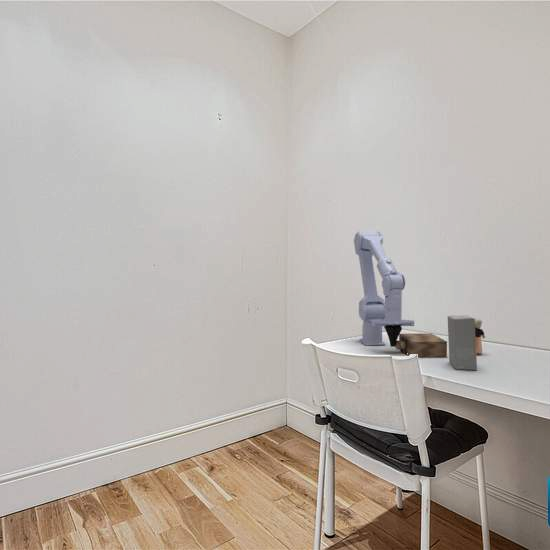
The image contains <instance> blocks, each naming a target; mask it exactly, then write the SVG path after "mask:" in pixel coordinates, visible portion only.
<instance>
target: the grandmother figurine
mask: <svg viewBox="0 0 550 550" xmlns="http://www.w3.org/2000/svg"><path fill="white" fill-rule="evenodd" d="M482 324H483V320H482V319H481V318H478V317H476V318H475V338H476V356H477V355H478V356H481V355H483V345H482V339H485V338H486V336H485V332H484V330H483V329H482V328H481V327H482Z"/></svg>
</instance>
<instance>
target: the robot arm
mask: <svg viewBox="0 0 550 550" xmlns="http://www.w3.org/2000/svg"><path fill="white" fill-rule="evenodd" d="M383 243H384V238H383V234H382V233H381V231H357V232H356V233H355V235H354V238H353V244H354V250H355V254H356V255H358V260H359V266H360V274H361V282H362V287H363V293H364V294H363V295H364V297H363V298H361V299H360V300H359V302H358V317H359V318H360V320H361V321H363V323H362V327H361V328H362V329H361V331H362V332H361V333H362V336H361V337H362V338H359V341H360V342H361V343H362V344H363V345H364V346H385V345H386V343H385V342H384V341H383V327H384V330H385V332H386V333H387V337H388V340H389V346H390V347H392V348H395V346H396V341H398V339H399V334H401V332H402V330H403V327H415V320H413V319H402V312H403V311H402V310H403V309H402V305H403V304H402V301H403V299H402V298H403V293H402V291H403V290H405V287H406V278H405V275H404V274H403V273H400V272H399V271H397V269H396V267H395V264H394V263H393V261H392V260H391V258H388V257H387V255H386V252H385V250H384V247H383ZM373 256H374V258H375V261H377V263H376V268H377V270H378V272H379V275H380V276H381V278H382V279H381V287H382V291H383V292H382V293H383V295H384V298H383V297H381V296H380V295H378V288H377V282H376V281H377V280H376V276H375V269H374V263H373Z"/></svg>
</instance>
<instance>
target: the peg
mask: <svg viewBox="0 0 550 550" xmlns="http://www.w3.org/2000/svg"><path fill="white" fill-rule="evenodd" d="M394 348H395V350H398V351H399V350H400V351H401V349H405V341H399V340H397V341H396V346H395V347H394Z"/></svg>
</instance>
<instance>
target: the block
mask: <svg viewBox="0 0 550 550" xmlns="http://www.w3.org/2000/svg"><path fill="white" fill-rule="evenodd" d="M398 341H405V349H400V351H401V350H402V351H404V352H405V353H408V354H409V355H410V354H418V357H419V359H421V358H424V359H425V358H448V341H446V340H444V339H443V338H441V337H440V336H437V335H436V334H433V333H423V332H422V333H421V332H420V333H400V334H399V336H398ZM402 351H401V352H402ZM405 353H404V354H405ZM409 355H408V356H409Z"/></svg>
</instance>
